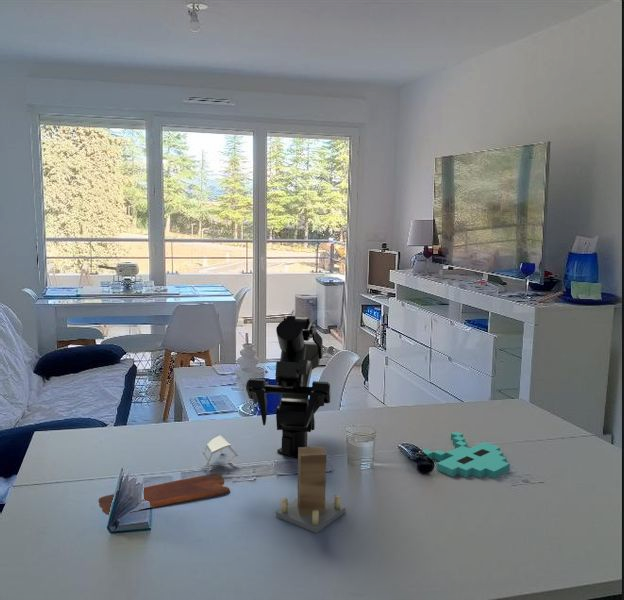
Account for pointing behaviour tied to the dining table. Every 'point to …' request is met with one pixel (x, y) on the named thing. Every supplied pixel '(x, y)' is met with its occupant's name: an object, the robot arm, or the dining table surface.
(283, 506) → the peg plate
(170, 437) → the dining table surface
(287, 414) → the robot arm
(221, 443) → the white gabled frame
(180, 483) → the wooden tablet
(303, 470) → the walnut shelf block
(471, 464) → the alien figure
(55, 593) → the dining table surface
